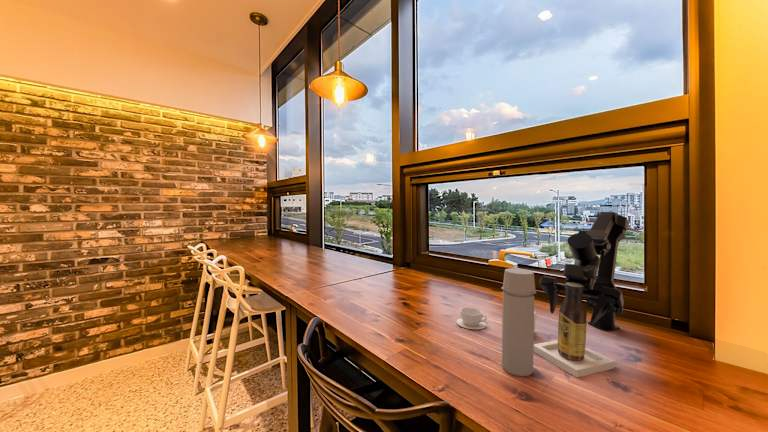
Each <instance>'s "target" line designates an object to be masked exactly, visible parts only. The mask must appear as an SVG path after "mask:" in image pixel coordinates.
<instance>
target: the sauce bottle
mask: <svg viewBox="0 0 768 432" xmlns="http://www.w3.org/2000/svg"><path fill="white" fill-rule="evenodd" d="M564 284H565V289H566V291H564V292H565V294H564V299H563V302H562V303H561V306H560V308H559V310H558V322H557V325H558V328H557V329H558V330H557V340H558V353H559V354H560V355H561V356H563V357H564V358H566V359H570V360H574V361H581V360H583V359H584V355H585V347H586V346H587V345H586V342H587V328H588V327H587V325H588V321H587V317H588V316H587V314H588V313H587V309H586V307H585V305H584V304H583V295H582V292H583V285H581V284H579V283H574V282H565V283H564Z"/></svg>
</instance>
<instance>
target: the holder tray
mask: <svg viewBox="0 0 768 432" xmlns="http://www.w3.org/2000/svg"><path fill="white" fill-rule="evenodd" d="M533 353H535V354H537V355H539V356H540V357H542V358H543V359H545V360H547V361H548V362H550V363H552V364H554V365H555V366H556V367H559V368H560V369H562V370H563V371H565V372H567V373H568V374H570V375H571V374H572V375H571V376H573V377H574V378H576V377H577V378H580V377H579V376H581V377H585V376H589V375H593V374H598V373H602V372H605V371H608V370H609V371H610V370H612V369H615V368H616V367H615V363H616V361H615V360H613V359H611V358H609V357H607V356H604V355H602V354H601V353H598V352H597V351H594V350H592V349H590V348H588V347H586V346H585V355H584V359H583V360H581V361H574V360H570V359H566V358H564V357H563V356H561V355H560V354H559V353H558V339H555V340H550V341H544V342H539V343H535V344H534V346H533ZM584 375H585V376H584Z"/></svg>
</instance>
